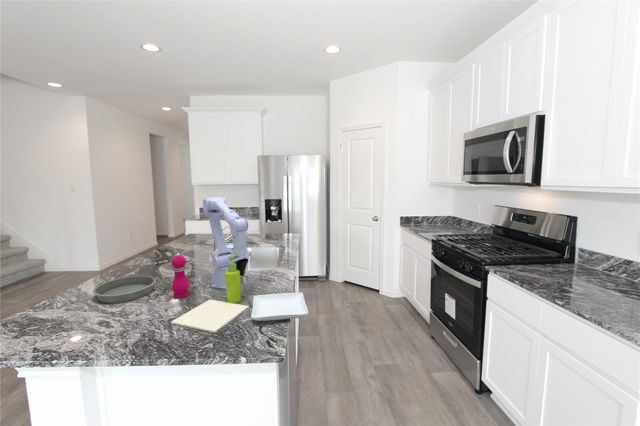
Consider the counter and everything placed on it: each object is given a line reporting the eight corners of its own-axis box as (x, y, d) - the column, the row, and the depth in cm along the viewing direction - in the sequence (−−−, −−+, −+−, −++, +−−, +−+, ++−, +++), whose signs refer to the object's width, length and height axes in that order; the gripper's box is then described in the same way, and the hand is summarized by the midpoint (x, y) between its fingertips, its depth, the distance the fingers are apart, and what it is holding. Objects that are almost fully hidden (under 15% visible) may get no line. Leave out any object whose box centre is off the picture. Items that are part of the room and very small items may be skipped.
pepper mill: (193, 294, 139) (190, 251, 136) (180, 300, 133) (177, 255, 130) (182, 291, 142) (179, 250, 139) (168, 297, 136) (165, 254, 133)
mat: (170, 323, 112) (170, 321, 112) (209, 300, 132) (209, 299, 132) (214, 332, 105) (214, 331, 105) (249, 307, 125) (249, 306, 125)
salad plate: (302, 298, 134) (302, 290, 134) (309, 321, 113) (309, 312, 113) (253, 302, 131) (253, 294, 130) (251, 326, 110) (250, 317, 109)
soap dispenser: (245, 298, 134) (243, 254, 132) (235, 304, 128) (233, 258, 125) (233, 296, 136) (231, 253, 133) (224, 302, 130) (221, 257, 127)
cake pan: (81, 299, 136) (80, 289, 135) (135, 281, 158) (134, 272, 157) (115, 309, 125) (114, 299, 125) (167, 288, 147) (167, 279, 146)
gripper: (237, 250, 126) (239, 281, 128) (256, 242, 139) (257, 271, 141) (223, 249, 128) (225, 280, 130) (243, 241, 142) (244, 269, 144)
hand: (241, 275), depth 136 cm, fingers closed
